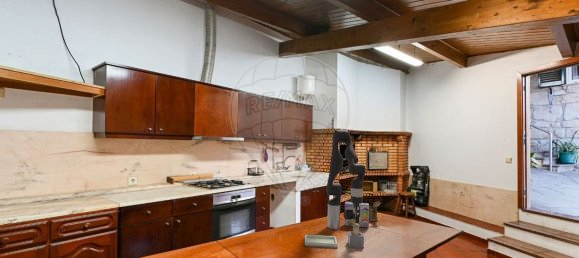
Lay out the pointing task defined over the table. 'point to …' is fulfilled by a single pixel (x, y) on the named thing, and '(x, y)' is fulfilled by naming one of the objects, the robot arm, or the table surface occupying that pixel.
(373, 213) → the wooden mug
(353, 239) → the grey cup
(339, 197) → the robot arm
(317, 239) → the sage tray
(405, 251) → the table surface
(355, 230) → the birch peg
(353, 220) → the cake pan box
